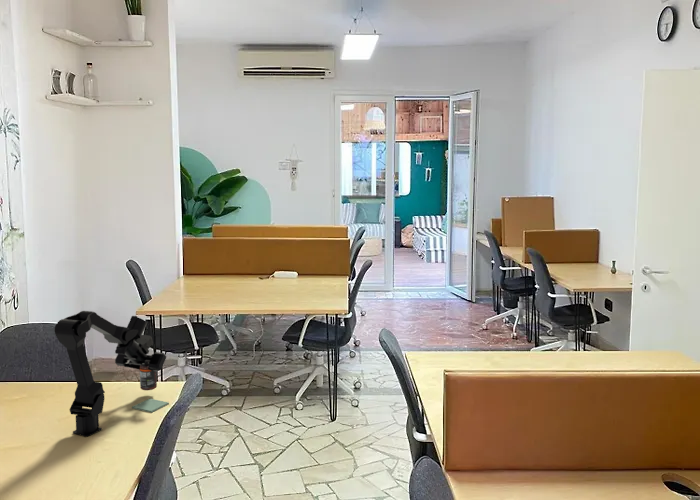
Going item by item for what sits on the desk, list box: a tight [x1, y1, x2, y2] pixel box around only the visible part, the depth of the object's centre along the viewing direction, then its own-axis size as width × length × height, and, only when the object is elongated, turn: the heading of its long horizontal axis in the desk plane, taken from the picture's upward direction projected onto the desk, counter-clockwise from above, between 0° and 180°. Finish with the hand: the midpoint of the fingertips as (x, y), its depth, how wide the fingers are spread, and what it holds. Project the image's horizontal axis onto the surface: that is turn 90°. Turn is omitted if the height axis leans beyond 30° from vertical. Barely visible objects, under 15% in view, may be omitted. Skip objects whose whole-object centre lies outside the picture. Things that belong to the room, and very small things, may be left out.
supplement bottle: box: [139, 362, 158, 391], centre depth 239 cm, size 6×6×11 cm
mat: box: [131, 398, 170, 414], centre depth 230 cm, size 9×9×1 cm
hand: (150, 370), depth 240 cm, fingers closed on supplement bottle, 6 cm apart
